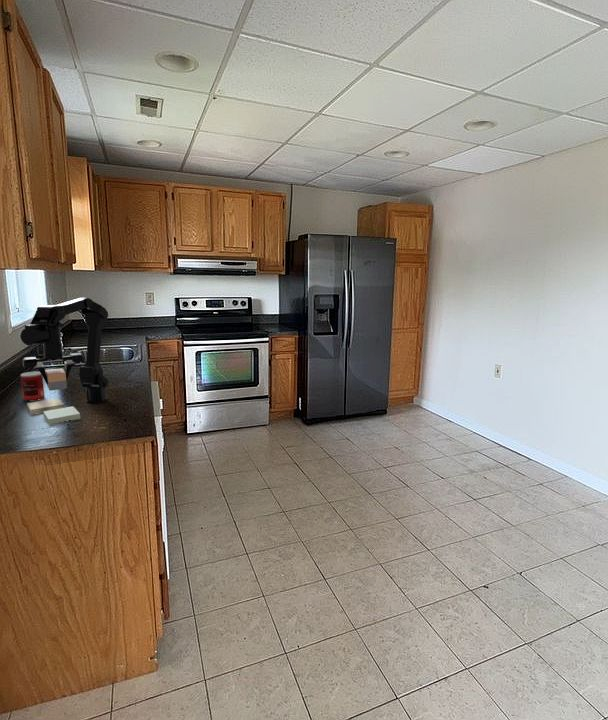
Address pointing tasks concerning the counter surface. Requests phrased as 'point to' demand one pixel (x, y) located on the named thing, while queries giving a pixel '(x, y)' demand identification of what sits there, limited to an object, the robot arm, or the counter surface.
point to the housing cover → (56, 375)
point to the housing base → (57, 385)
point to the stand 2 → (61, 415)
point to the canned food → (32, 385)
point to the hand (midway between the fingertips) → (56, 383)
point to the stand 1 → (44, 406)
